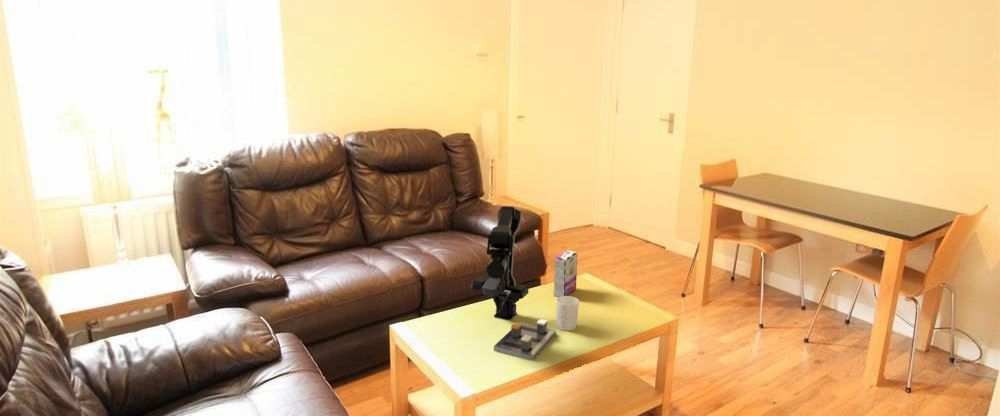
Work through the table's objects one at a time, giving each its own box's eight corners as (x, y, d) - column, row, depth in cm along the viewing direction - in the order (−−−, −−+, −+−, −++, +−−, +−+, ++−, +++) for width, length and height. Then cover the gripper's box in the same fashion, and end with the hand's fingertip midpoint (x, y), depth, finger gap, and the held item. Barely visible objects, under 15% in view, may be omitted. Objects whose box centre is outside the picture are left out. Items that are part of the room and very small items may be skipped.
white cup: (576, 332, 209) (578, 306, 206) (554, 330, 211) (555, 303, 208) (578, 322, 216) (579, 296, 214) (556, 320, 218) (557, 294, 215)
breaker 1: (510, 335, 202) (511, 326, 201) (514, 332, 205) (515, 322, 204) (517, 337, 201) (517, 327, 200) (521, 333, 204) (521, 323, 203)
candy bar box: (565, 287, 248) (567, 249, 244) (576, 289, 246) (578, 251, 241) (552, 296, 239) (554, 257, 235) (564, 299, 237) (565, 259, 232)
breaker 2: (520, 348, 193) (521, 338, 193) (524, 344, 196) (525, 334, 195) (527, 350, 192) (528, 340, 191) (531, 346, 195) (532, 336, 194)
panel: (493, 350, 196) (493, 346, 196) (519, 326, 213) (519, 321, 213) (533, 360, 190) (533, 356, 190) (556, 334, 207) (556, 330, 207)
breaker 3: (536, 332, 205) (536, 322, 204) (540, 328, 207) (540, 318, 207) (543, 333, 204) (543, 324, 203) (546, 330, 206) (547, 320, 205)
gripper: (463, 270, 196) (463, 314, 201) (515, 280, 189) (514, 326, 193) (479, 259, 206) (479, 302, 210) (529, 269, 198) (528, 312, 202)
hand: (499, 310), depth 204 cm, fingers closed
